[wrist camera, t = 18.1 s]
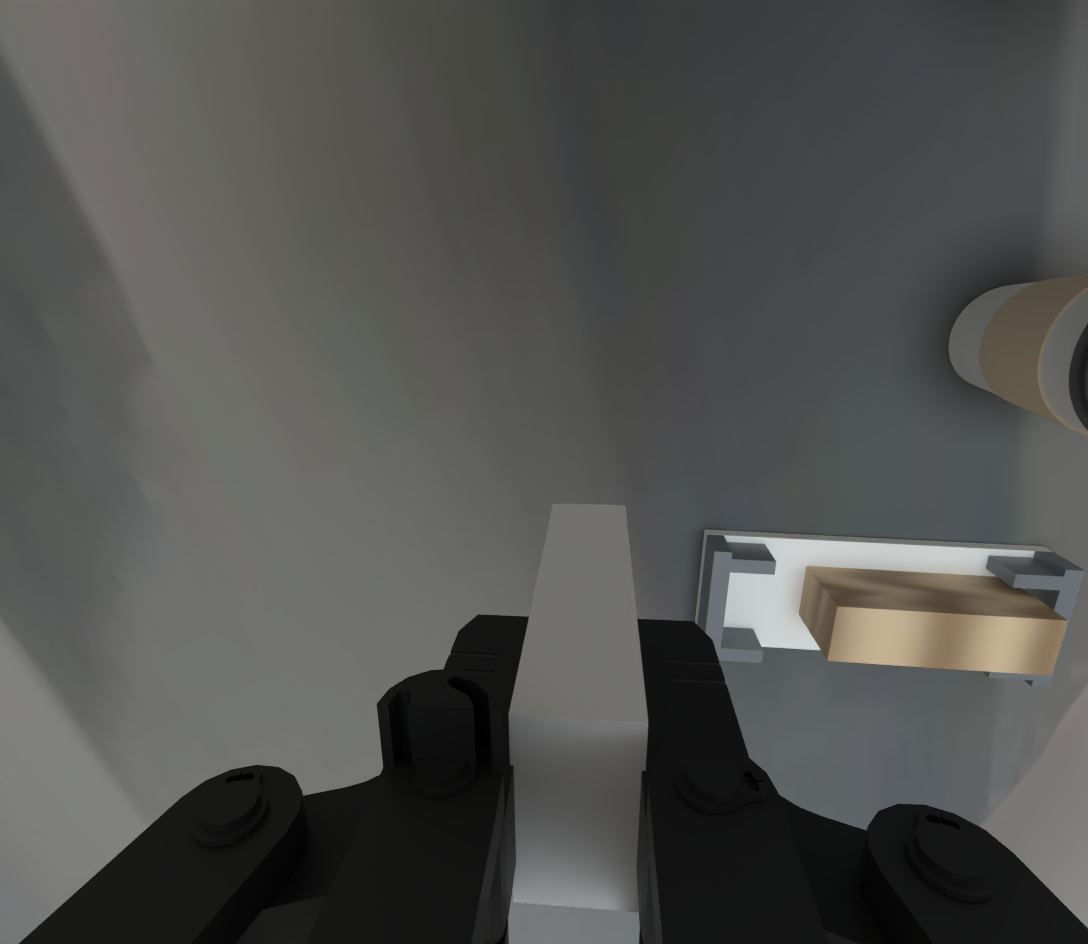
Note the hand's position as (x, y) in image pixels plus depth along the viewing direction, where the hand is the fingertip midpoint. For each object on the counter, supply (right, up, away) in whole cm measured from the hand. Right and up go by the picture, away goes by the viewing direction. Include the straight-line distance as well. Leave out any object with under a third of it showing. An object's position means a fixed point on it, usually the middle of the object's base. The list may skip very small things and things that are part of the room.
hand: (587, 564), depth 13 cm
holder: (+23, -7, +33) cm, 41 cm away
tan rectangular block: (+25, -7, +32) cm, 41 cm away
